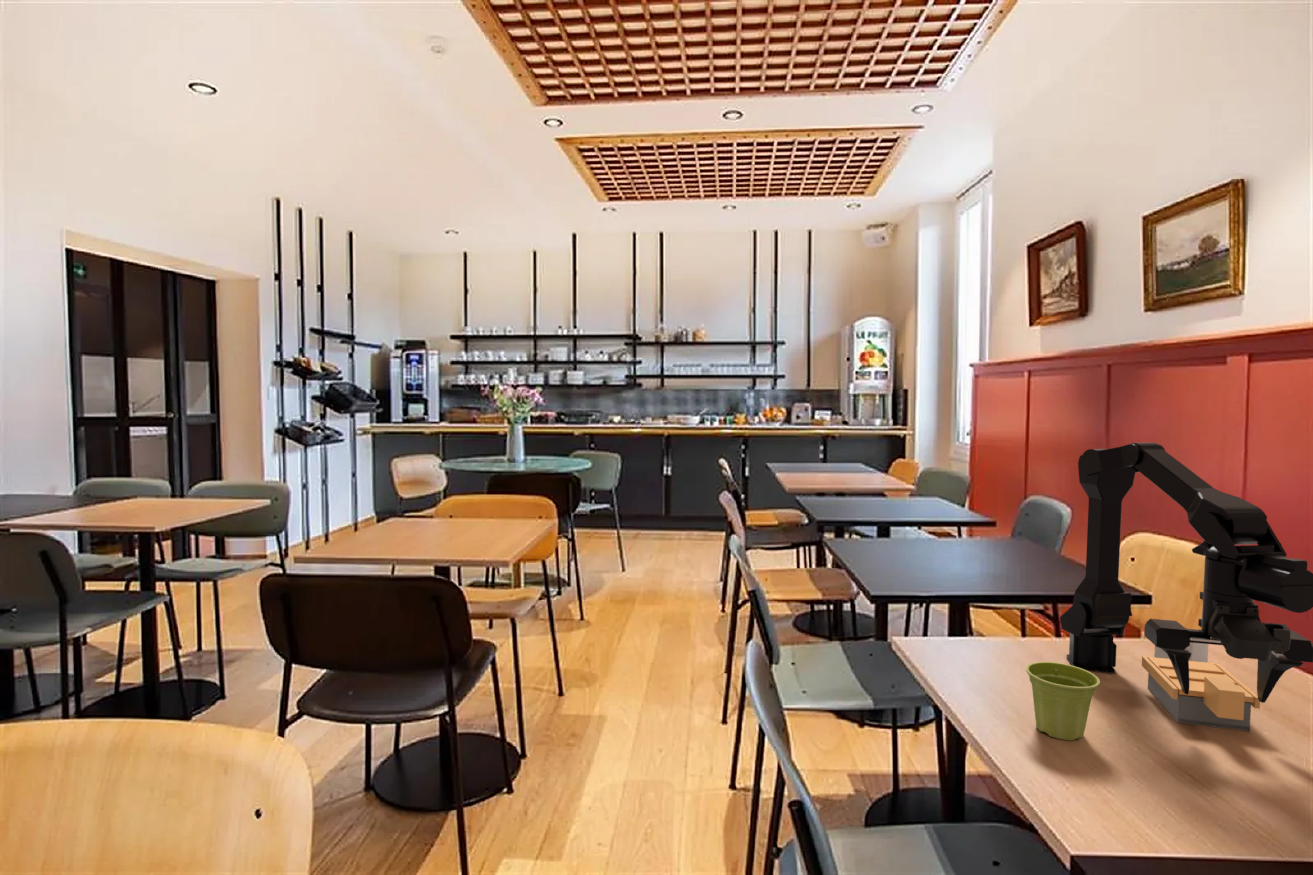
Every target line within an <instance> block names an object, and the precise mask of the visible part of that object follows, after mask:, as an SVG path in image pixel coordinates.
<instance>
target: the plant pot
mask: <svg viewBox="0 0 1313 875" xmlns="http://www.w3.org/2000/svg"><path fill="white" fill-rule="evenodd" d="M1025 671H1026V673H1027V675H1028V676H1029V682H1030V683H1031V688H1032V698H1033V708H1034V717H1035V719H1034V720H1035V726H1036V728H1037V730H1039V731H1040V732H1044V733H1045V734H1047V735H1048V736H1050V737H1052V738H1054V739H1059V740H1064V741H1075V740H1076V739H1079V738H1080V739H1082V738H1083V737H1084V735H1085V731H1086V726H1087V721H1088V716H1089V711H1090V707H1091V703H1092V700H1093V696H1094V695H1095V692H1096V689H1097V688H1098V687H1099V686H1100V683H1101V680H1100V678H1099V677H1098V676H1097V675H1095V673H1093V672H1092V671H1089V670H1084V669H1082V668H1079V667H1075V666H1072V665H1071V664H1067V663H1062V662H1055V661H1054V662H1053V661H1035V662H1032V663H1029V664H1028V665H1027V666H1026V667H1025Z"/></svg>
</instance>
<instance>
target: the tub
mask: <svg viewBox="0 0 1313 875" xmlns="http://www.w3.org/2000/svg"><path fill="white" fill-rule="evenodd" d="M1147 676H1148V677H1147V690H1149V692H1150V693H1151V694H1152V695H1153V697H1154V698H1156V700H1157V701H1158V702H1159V703H1160V705H1162V707H1163V708H1164V709H1165V710H1166V711H1167V713H1169V714H1170V716H1171V717H1172V718H1173V719H1174V721H1176V722H1177V723H1178V724H1179V723H1180V724H1189V725H1196V726H1203V727H1212V728H1220V729H1228V730H1238V731H1245V732H1251V730H1250V728H1251V714H1252V713H1251V712H1252V705H1251V703H1250V702H1244V719H1243V720H1237V719H1228V718H1220V717H1217V716H1216V715H1215V714H1214V713H1213V712H1212V711H1211V710H1210V709H1209V708H1208V707H1207V706H1206V705H1205V704H1204V703H1203V697H1198V696H1189V695H1180V694H1178V699H1172V698H1171V696H1170V695H1169V694H1168V693H1167V692H1166V691H1165V690H1164V689H1163V688H1162V687H1161V686H1160V685H1159V684H1158V683H1157V681H1156V680H1155V679H1154V678H1153V677H1152V676H1151V675H1150V674H1149V673H1148V672H1147Z"/></svg>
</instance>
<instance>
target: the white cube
mask: <svg viewBox="0 0 1313 875" xmlns="http://www.w3.org/2000/svg"><path fill="white" fill-rule="evenodd" d="M1186 649H1187V650H1188V651H1189V652H1190V653H1191V657H1190V659H1189V661H1196V662H1206V663H1209V662H1208V658H1209V644H1202V643H1192V642H1190V646H1189V647H1187V648H1186ZM1153 657H1155V658H1165V659H1170V658H1169V657H1168V655H1167V653H1166V652H1164V651H1163V650H1162V649H1161V648H1159V647H1156V646H1155V645H1154V656H1153Z"/></svg>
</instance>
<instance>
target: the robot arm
mask: <svg viewBox="0 0 1313 875" xmlns="http://www.w3.org/2000/svg"><path fill="white" fill-rule="evenodd" d="M1077 466H1078V469H1077V470H1078V480H1079V484H1080V486H1081V487H1082V489H1083V491H1084V492H1085V493H1086V495H1087V497H1088V508H1087V509H1088V510H1087V530H1086V531H1087V533H1086V534H1087V535H1086V536H1087V538H1086V554H1085V555H1086V556H1085V557H1086V558H1085V560H1086V561H1085V576H1084V578H1083V579H1082V581H1081V582H1080V584H1078V586H1077V588H1076V590H1075V591H1074V595H1073V602H1072V605H1071V607H1069V608H1068V609H1067V610H1066V611H1064V613H1063V614H1062V615H1060V617H1059V620H1060V627H1061V630H1063V631H1065V632H1068V633H1069V647H1068V648H1069V649H1068V654H1067V653H1066V659H1067V660H1068V661H1069V663H1070V665H1071V666H1075V667H1079V668H1082V669H1084V670H1086V671H1089V672H1100V673H1101V672H1102V673H1109V674H1115V673H1116V669H1115V667H1116V666H1117V648H1118V647H1117V644H1116V643H1115V642H1114V636H1122V635H1123V633H1124V630H1125V627H1126V625H1127V624H1128V623H1129V621H1130V617H1133V612H1132V602H1133V596H1132V594H1131V592H1126V591H1125V589H1124V588H1123V586H1122V584H1121V583H1120V580H1119V575H1120V574H1119V571H1120V554H1121V553H1120V552H1121V549H1120V548H1121V533H1122V532H1121V528H1122V511H1123V510H1122V509H1123V508H1122V506H1123V505H1122V503H1123V499H1124V498H1125V497H1126V495H1127V494H1128V493H1129V491H1130V490H1131V489H1132V487H1133V486H1134V481H1135V477H1136V474H1138V473H1141V475H1143V476H1144V477H1145V478H1146V479H1148V480H1149V481H1150V482H1151V483H1153V485H1155V486H1156V487H1157V488H1159V489H1160V490H1161V491H1162V492H1163V493H1164V494H1166V495H1167V496H1168V497H1169V498H1171V499H1172V500H1173V501H1174V502H1175V503H1176V504H1178V505H1179V506H1180V507H1182V508H1183V510H1184V511H1185V512H1186V514H1187V521H1188V523H1189V524H1190V526H1191V527H1192V528H1193V529H1194V531H1196V533H1197V534H1198V535H1199V536H1200V538H1201V539H1202V540H1203V542H1202V543H1200V544H1198V545H1196V546H1195V547H1193V548H1192V549H1191V552H1192V553H1193V554H1196V555H1200V556H1203V557H1204V566H1203V567H1204V570H1203V572H1204V573H1203V588H1202V591H1199V599H1200V600H1202V610H1201V612H1202V613H1201V618H1198V627H1200V629H1194V628H1193V629H1192V628H1186V627H1185V626H1183V625H1182V624H1181V623H1180V622H1178V621H1177V620H1170V619H1160V618H1159V619H1158V618H1149V619H1148V620H1147V621H1146V622H1145V624H1144V637H1145V638H1146V639H1148V640H1149V641H1150V642H1151V644H1153V645H1154V647H1155V646H1156V647H1159V648H1161V649H1162V650H1163V651H1164V652H1166V653H1167V655H1168V657H1169V658H1170V660H1171V663H1172V665H1173V668H1174V670H1175V673H1176V675H1177V678H1178V681H1179V683H1180V686H1181V689H1182V691H1183V692H1184V693H1185V694H1188V693H1189V686H1190V684H1189V659H1190V657H1191V653H1190V652H1189V651H1188V650H1187V649H1186V648H1187V647H1189V646H1190V642H1192V643H1202V644H1208V645H1213V646H1214V645H1215V646H1223V647H1224V650H1225V653H1226V654H1227V655H1228V656H1230V657H1232V658H1234V659H1237V660H1243V659H1249V660H1250V659H1251V660H1257V670H1256V671H1257V676H1256V691H1257V692H1256V695H1257V696H1258V700H1259V701H1260V703H1261V704H1263V703H1264V704H1265V703H1266V701H1267V699H1268V698H1269V697H1270V695H1271V693H1272V691H1273V690H1274V688H1275V686H1276V684H1277V683H1278V681H1279V680H1280V679H1281V677H1282V676H1283V675H1284V674H1285V672H1287V671H1288V670H1290V669H1292V668H1294V667H1299V668H1300V667H1301V668H1302V666H1303V665H1304V663H1311V664H1312V663H1313V642H1312V641H1311V640H1310V639H1308V638H1307V637H1304V636H1303V635H1301V634H1300V633H1297V632H1296V631H1294V630H1292V629H1290V627H1289V626H1288V625H1287V624H1285V623H1273V622H1262V621H1261V618H1260V615H1259V613H1260V610H1259V605H1258V604H1257V603H1255V601H1256V602H1261V603H1263V604H1266V605H1269V606H1272V607H1276V608H1279V609H1283V610H1286V611H1289V612H1292V613H1297V614H1302V613H1303V614H1304V613H1306V612H1308V611H1310V610H1311V609H1312V608H1313V572H1311V571H1310V570H1308V561H1307V560H1304V559H1302V558H1301V559H1300V558H1291V557H1287V552H1286V550H1285V549H1284V546H1282V543H1281V542H1280V541H1279V540H1280V539H1279V538H1278V537H1277V536H1276V534H1275V532H1274V530H1273V528H1272V527H1271V526H1270V524H1269V522H1268V520H1267V519H1268V516H1267V515H1266V513H1265V511H1264V510H1262V509H1261V507H1259V506H1257V505H1255V504H1253V503H1251V502H1249V501H1247V500H1245V499H1244V498H1241V497H1239V496H1236V495H1233V494H1230V493H1226V492H1224V491H1220V490H1218V489H1217V488H1214V487H1213V486H1212V485H1211V484H1209V483H1208V482H1206V481H1205V480H1204V479H1203V478H1201V477H1200V476H1198V475H1197V474H1196V473H1195V472H1193V470H1191V469H1189V468H1188V467H1187V466H1185V465H1184V464H1183V463H1182V462H1181V461H1178V459H1176V458H1175V457H1174V456H1172V454H1169V453H1168V452H1167V451H1166V450H1165V447H1164V446H1163V445H1161V444H1159V443H1157V442H1130V443H1129V444H1124V445H1121V446H1118V447H1111V448H1091V449H1090V448H1089V449H1086V450H1085V451H1084V452H1083V453H1082V454H1081V455H1080V456H1079V457H1078V460H1077Z"/></svg>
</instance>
